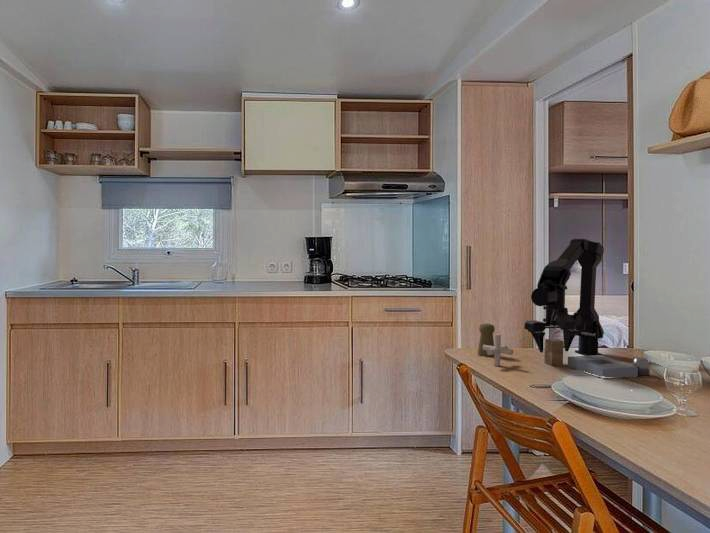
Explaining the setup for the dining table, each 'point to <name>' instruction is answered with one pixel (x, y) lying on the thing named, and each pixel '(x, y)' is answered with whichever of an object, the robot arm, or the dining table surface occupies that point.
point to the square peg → (553, 352)
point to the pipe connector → (497, 350)
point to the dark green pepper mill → (486, 338)
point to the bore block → (602, 366)
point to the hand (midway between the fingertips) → (554, 351)
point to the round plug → (642, 366)
